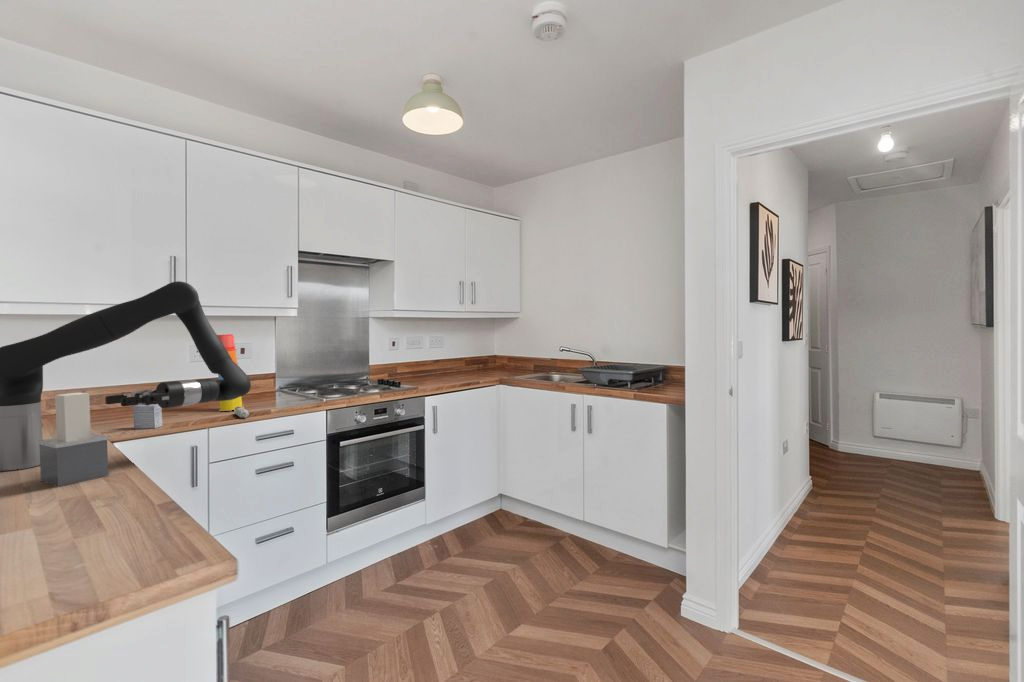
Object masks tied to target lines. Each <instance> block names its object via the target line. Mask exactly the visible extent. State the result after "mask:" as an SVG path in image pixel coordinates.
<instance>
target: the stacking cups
mask: <svg viewBox="0 0 1024 682" xmlns="http://www.w3.org/2000/svg"><path fill="white" fill-rule="evenodd" d="M217 336H218V337H219V339H220V340H221V342H222V343H223V345H224V346H225V348H226V350H227V352H228V353H229V355H230V357H231V358H232V360H233V361H234V362H235V363H236V364H237V365H239V363H238V361H237V353H236V352H237V351H236V350H237V348H236V345H235V344H236V343H235V336H234V334H230V333H227V334H217ZM217 375H218V378H217V380H222V379H223V378H222V377H221V375H219V374H217ZM242 397H243V396H240V397H238V398H235V399H232V400H227V401H219V409H220V410H234V409H235V408H236V407H242V408H244V409H245V406H243V400H242V399H243V398H242Z"/></svg>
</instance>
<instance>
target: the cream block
mask: <svg viewBox="0 0 1024 682" xmlns="http://www.w3.org/2000/svg"><path fill="white" fill-rule="evenodd" d="M54 398H55V400H54V402H55V422H56V424H55V427H56V428H55V429H56V438H57V440H62V441H71V440H77V439H83V438H89V437H91V433H92V428H91V407H90V406H91V404H90V393H88V392H87V393H86V392H71V393H61V394H55V395H54Z"/></svg>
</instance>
